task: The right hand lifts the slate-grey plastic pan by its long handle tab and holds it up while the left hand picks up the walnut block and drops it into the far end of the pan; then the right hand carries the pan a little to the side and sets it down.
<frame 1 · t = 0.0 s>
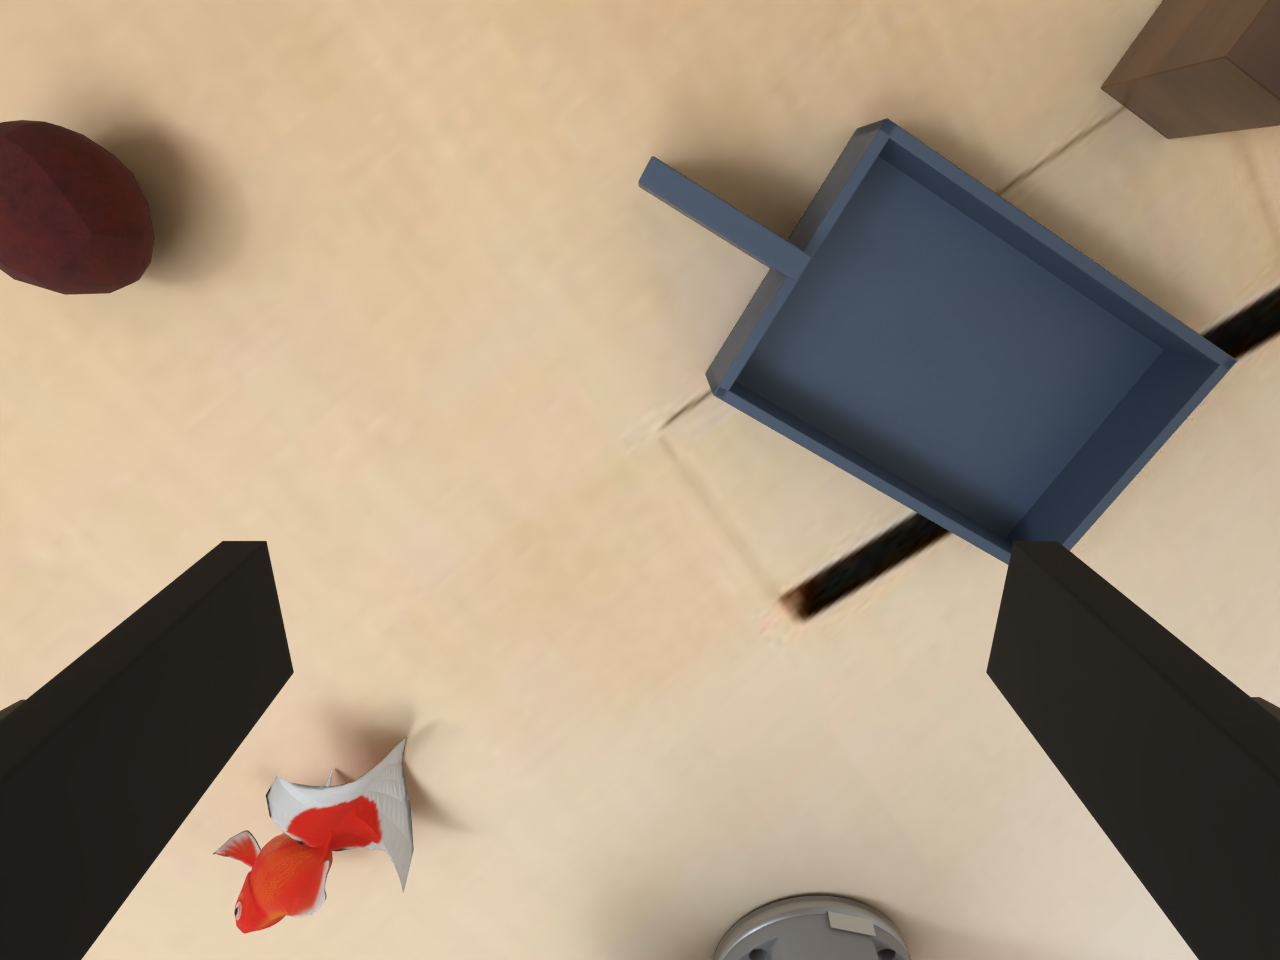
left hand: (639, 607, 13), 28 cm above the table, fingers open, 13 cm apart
block: (1167, 68, 34), on the table
fish: (344, 784, 50), on the table
dark maroon ball: (114, 213, 37), on the table
pan: (936, 359, 39), on the table
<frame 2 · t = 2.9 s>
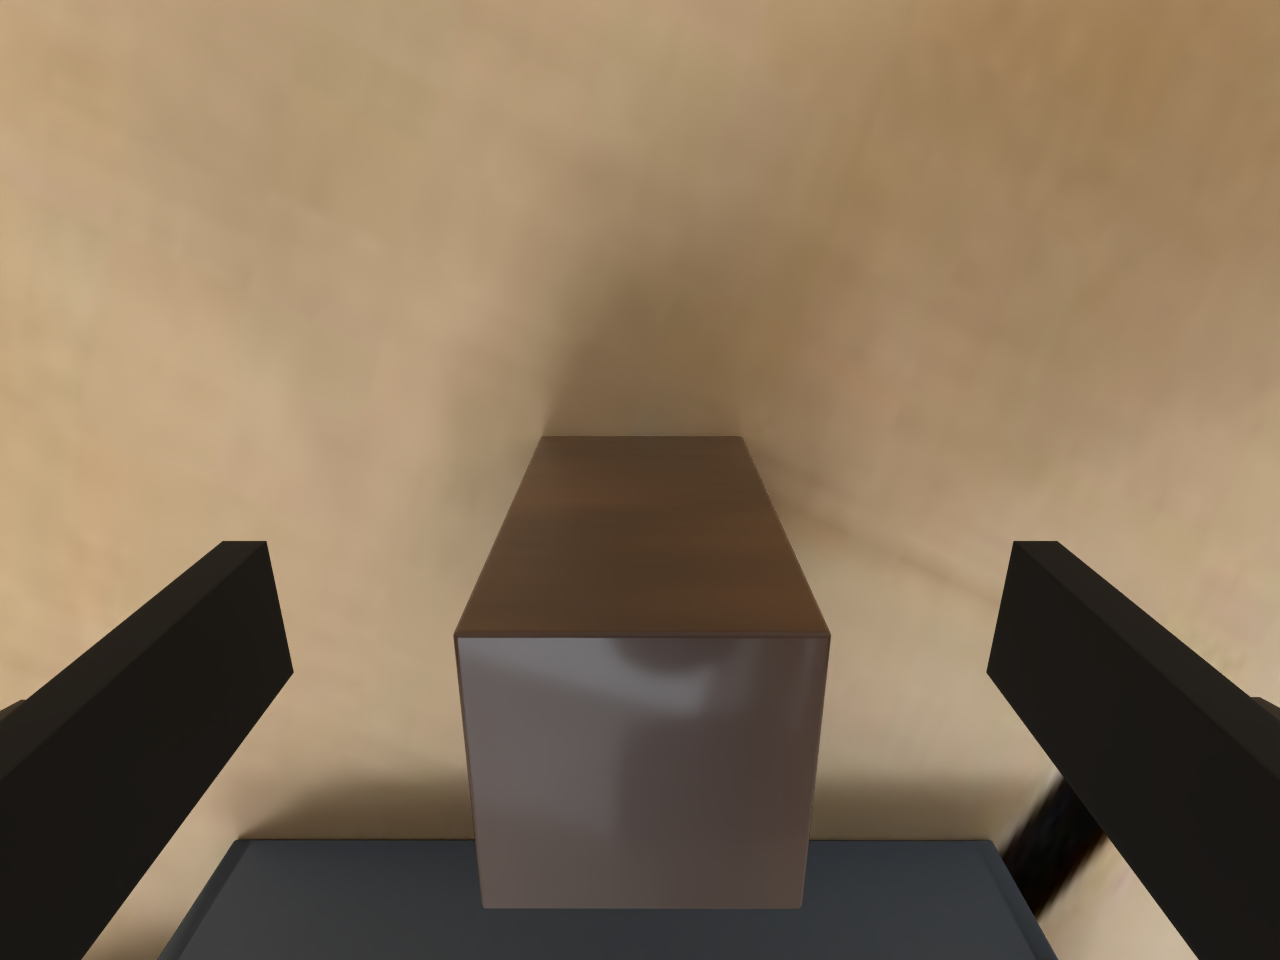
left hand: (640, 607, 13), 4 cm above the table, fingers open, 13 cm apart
block: (641, 528, 17), on the table
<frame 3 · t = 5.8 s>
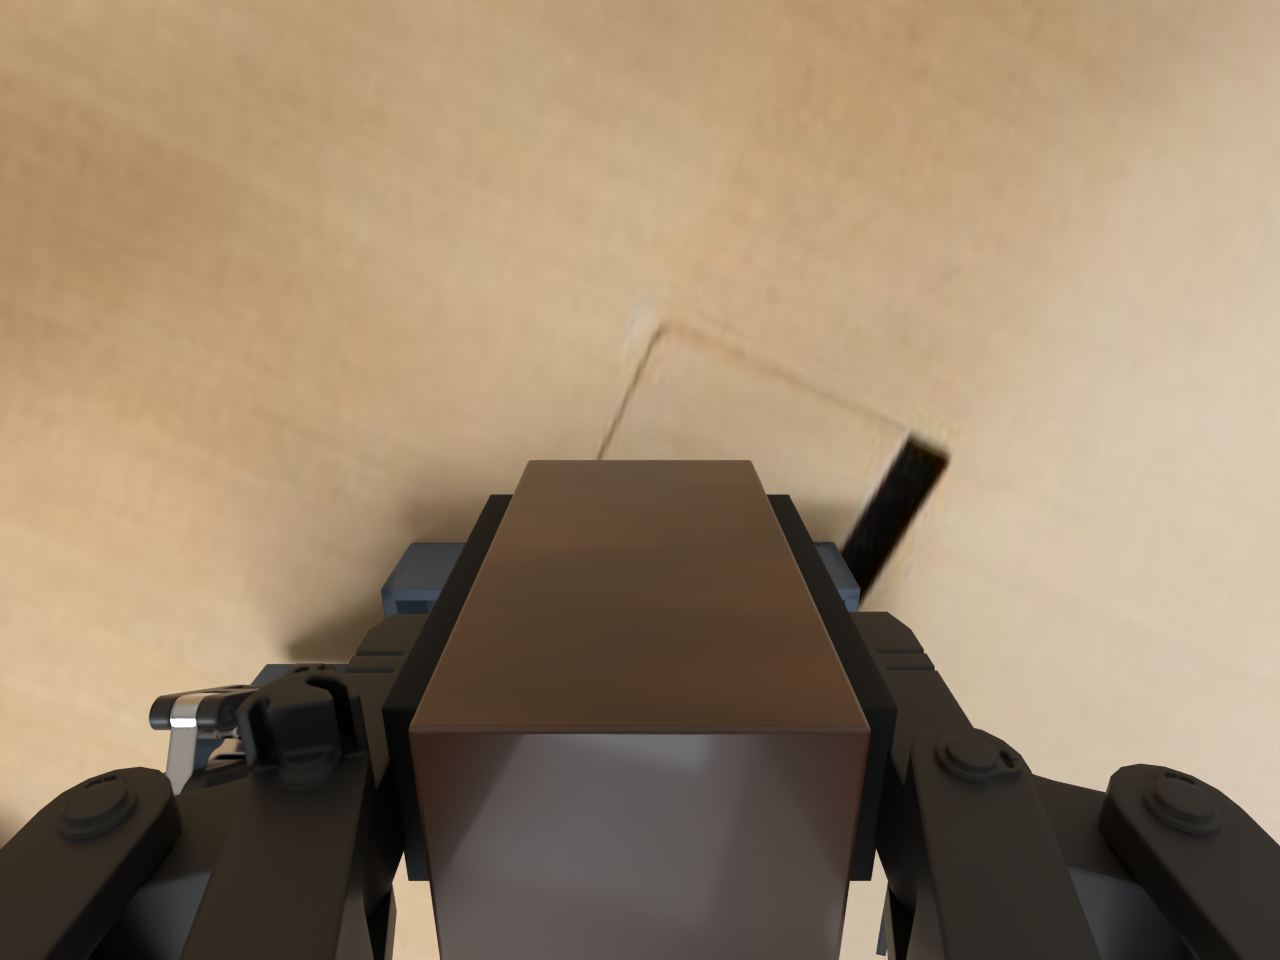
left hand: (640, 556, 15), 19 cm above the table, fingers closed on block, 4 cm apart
block: (639, 559, 15), point 19 cm above the table, touching left hand
pan: (623, 660, 39), on the table, touching right hand
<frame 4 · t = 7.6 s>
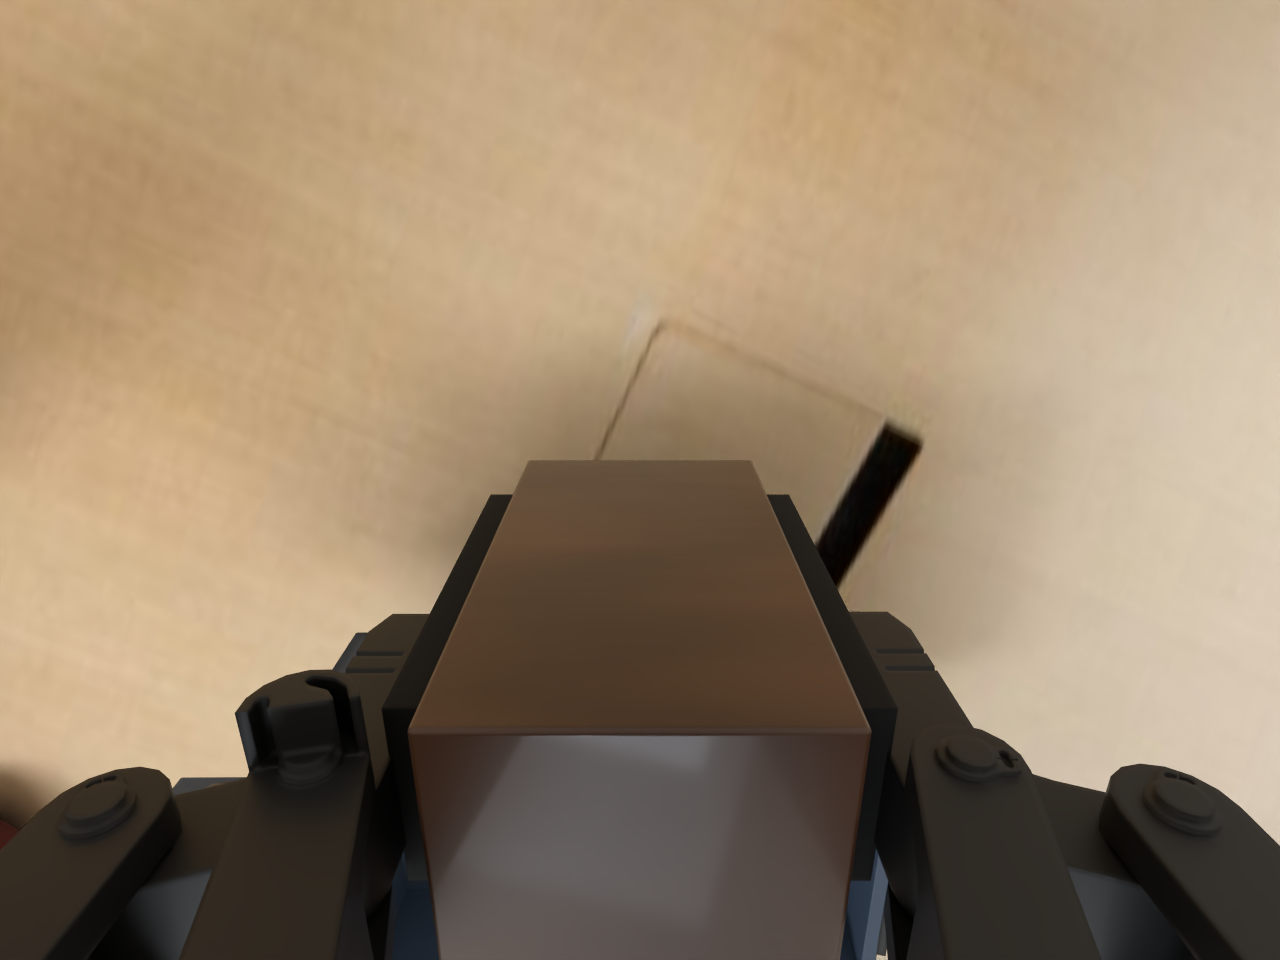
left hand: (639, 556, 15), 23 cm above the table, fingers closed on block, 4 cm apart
block: (639, 560, 15), point 22 cm above the table, touching left hand
dark maroon ball: (3, 828, 47), on the table
pan: (619, 768, 32), point 11 cm above the table, touching right hand
when the left hand's fingers open (21 cm above the table, at t = 9.8 s): block drops 9 cm, resting on pan.
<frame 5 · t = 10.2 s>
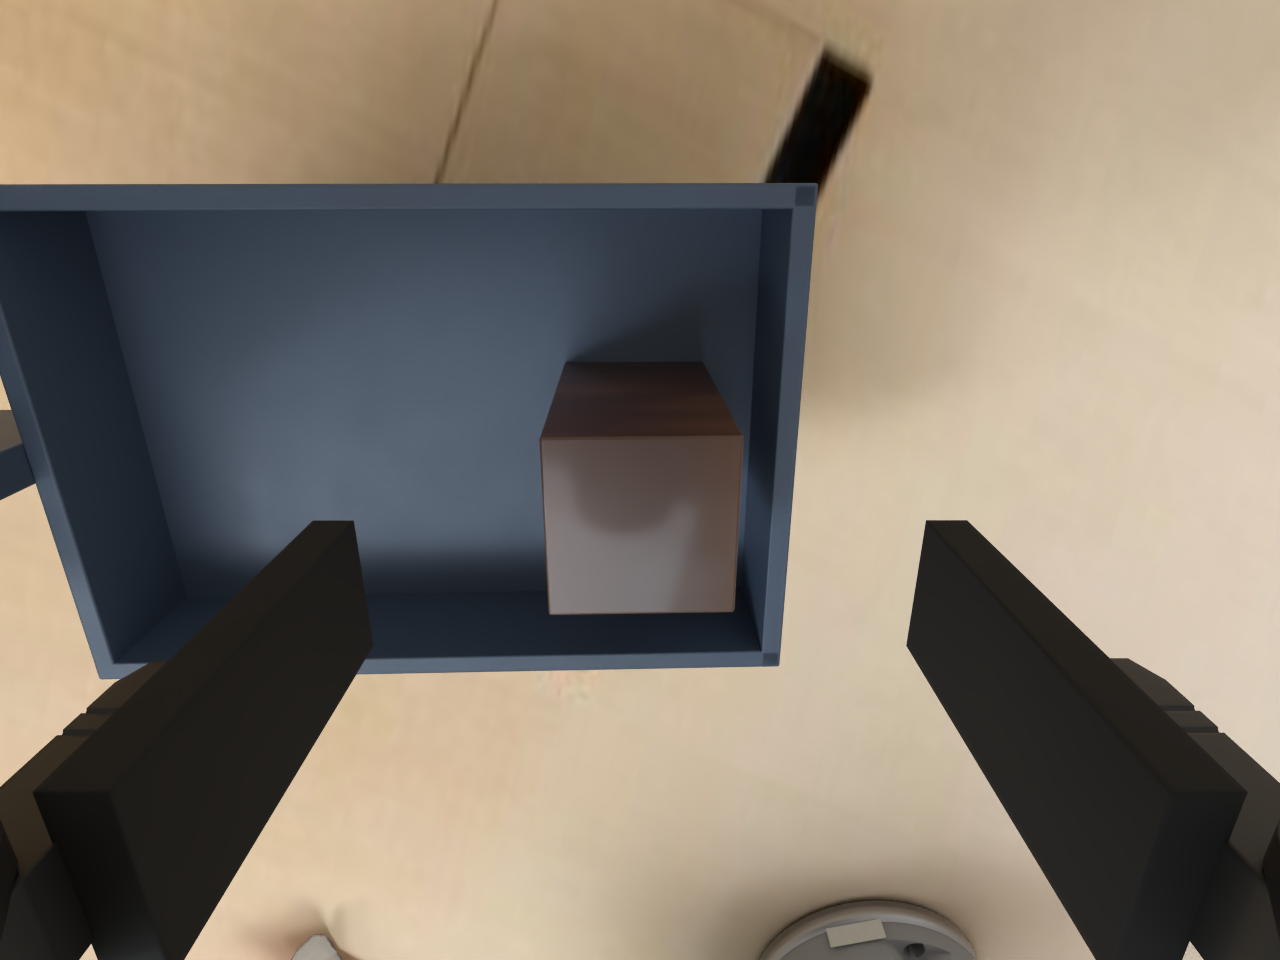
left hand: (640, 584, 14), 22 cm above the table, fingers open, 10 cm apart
block: (634, 428, 24), point 11 cm above the table, touching pan
pan: (453, 414, 24), point 10 cm above the table, touching block, right hand
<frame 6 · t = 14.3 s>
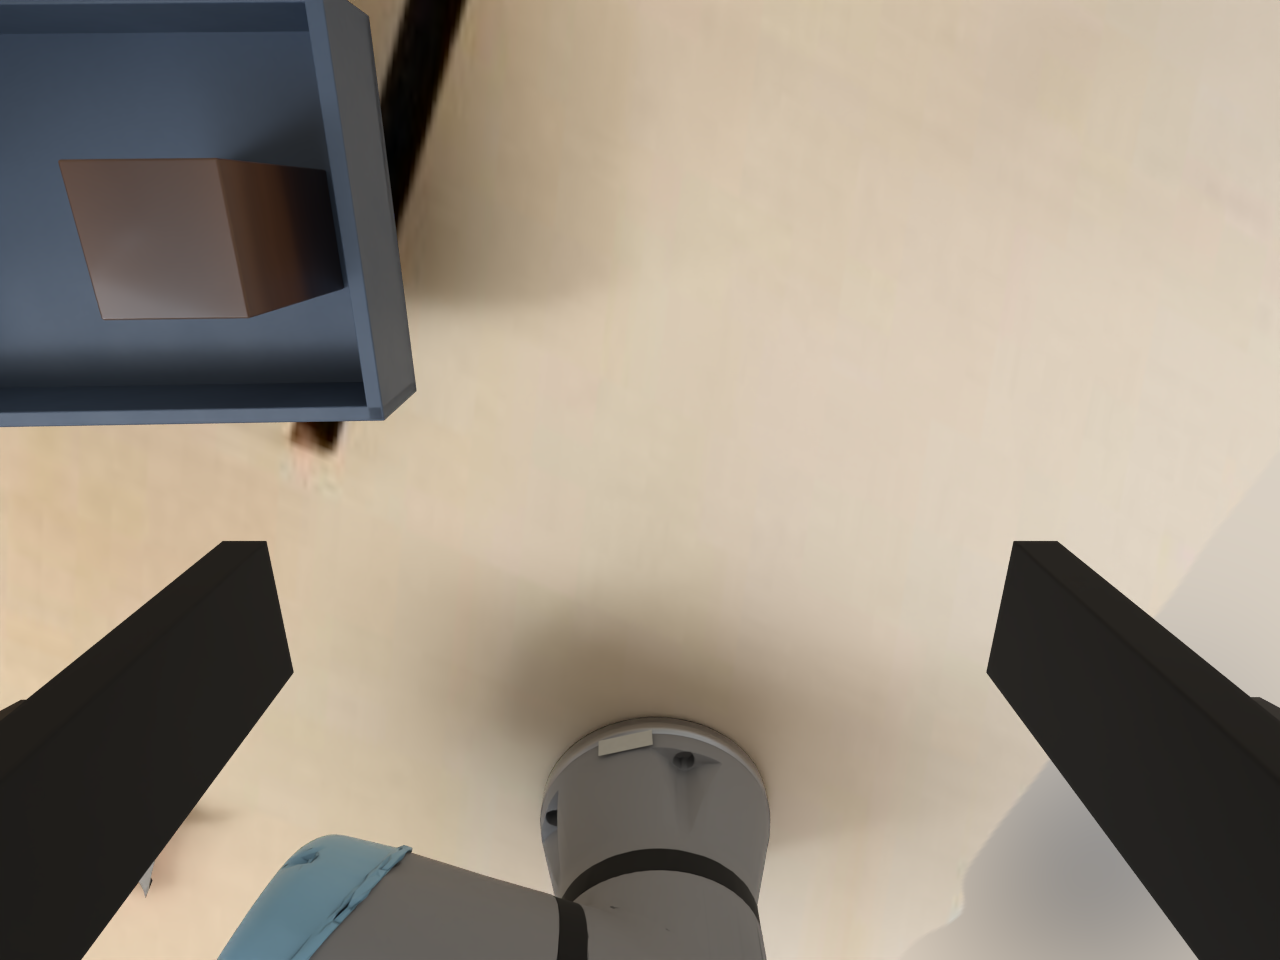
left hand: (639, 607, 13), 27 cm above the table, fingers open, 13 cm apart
block: (278, 231, 29), point 8 cm above the table, touching pan
pan: (130, 223, 29), point 7 cm above the table, touching block, right hand
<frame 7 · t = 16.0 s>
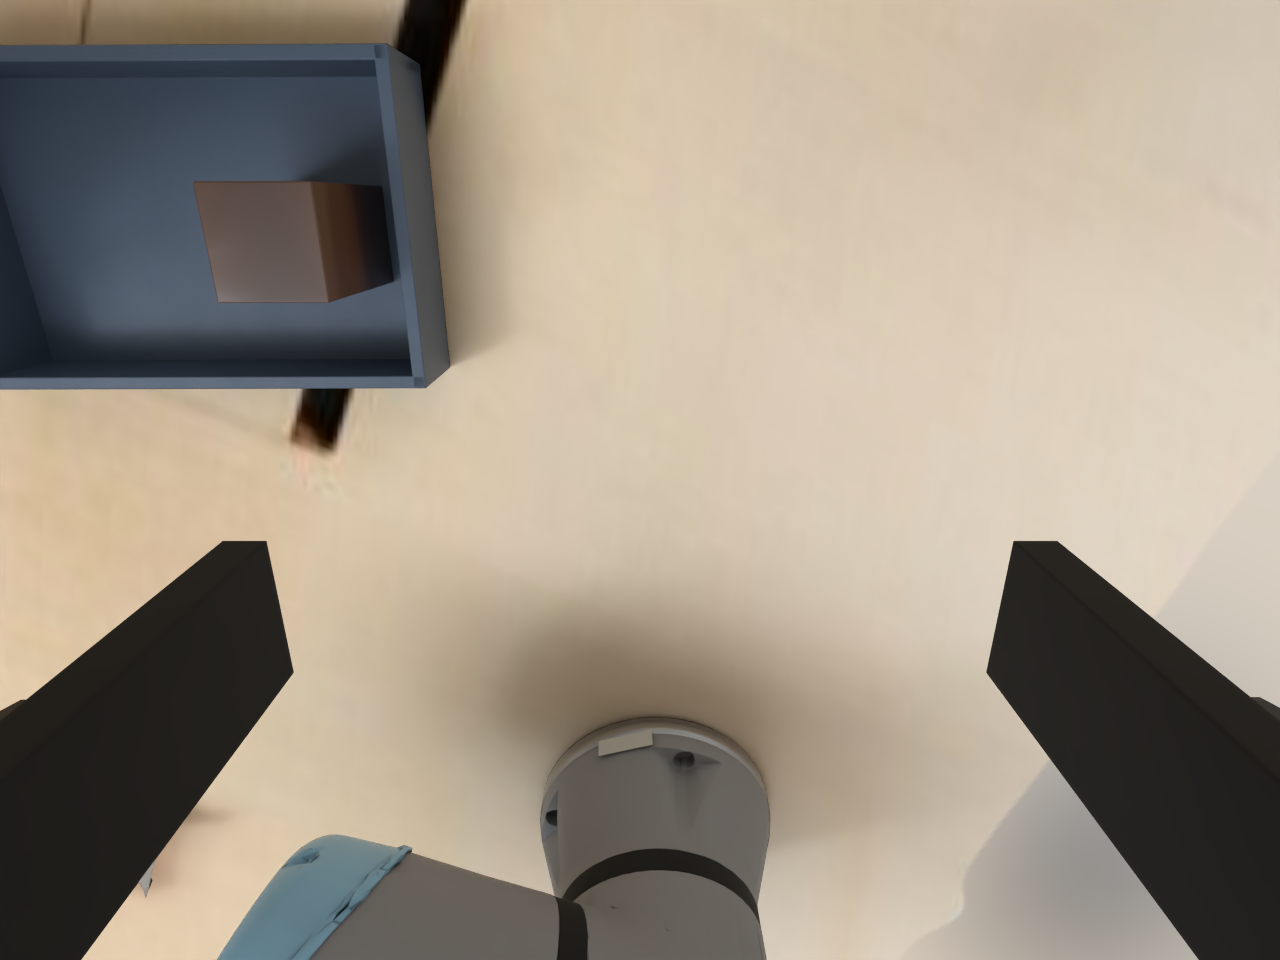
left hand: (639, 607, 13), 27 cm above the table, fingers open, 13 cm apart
block: (342, 235, 35), point 1 cm above the table, touching pan
pan: (223, 227, 36), on the table, touching block
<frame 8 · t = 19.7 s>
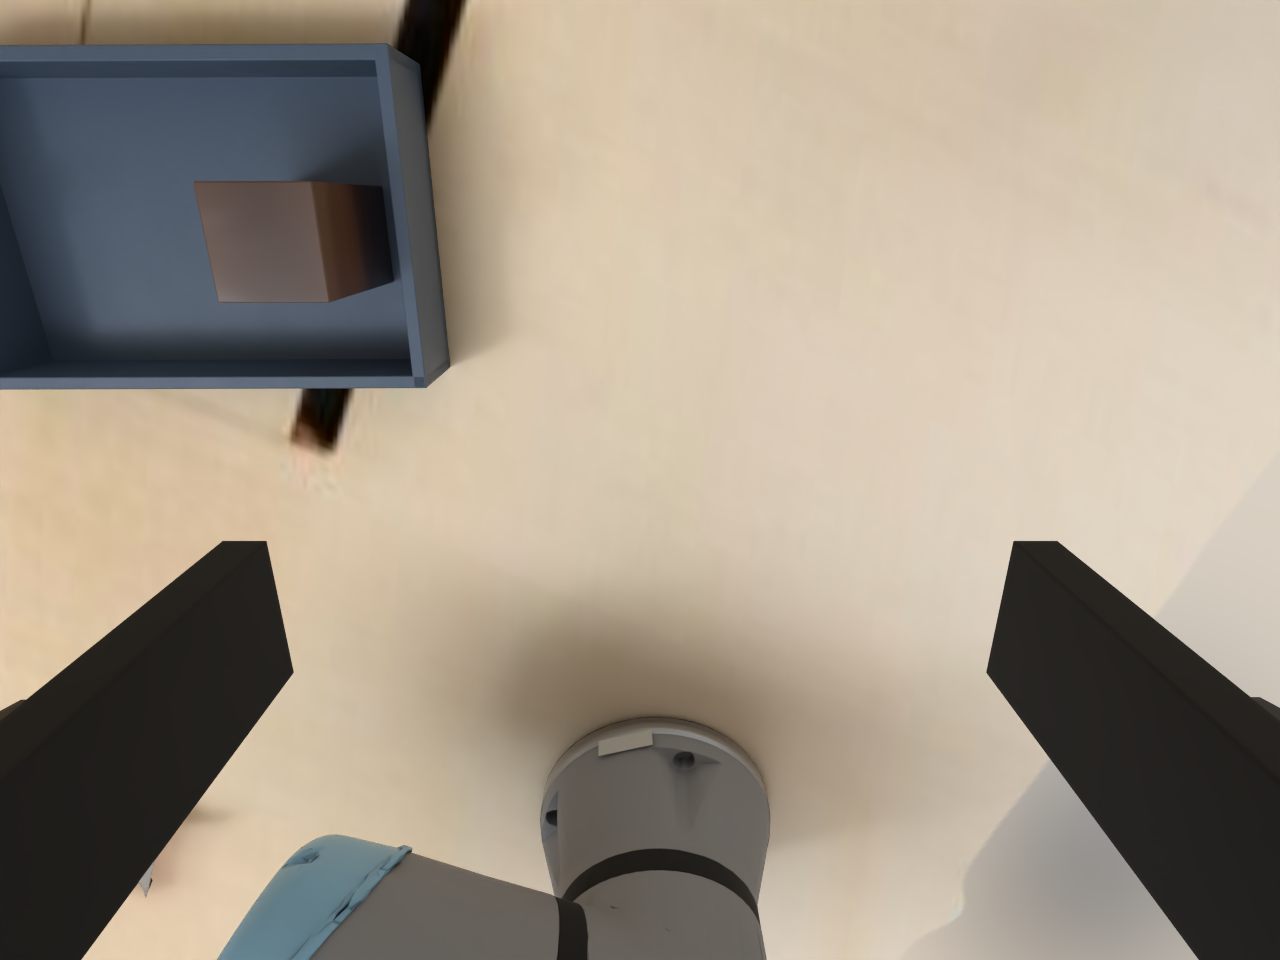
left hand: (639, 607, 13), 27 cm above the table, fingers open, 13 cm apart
block: (342, 235, 35), point 1 cm above the table, touching pan
pan: (223, 227, 36), on the table, touching block
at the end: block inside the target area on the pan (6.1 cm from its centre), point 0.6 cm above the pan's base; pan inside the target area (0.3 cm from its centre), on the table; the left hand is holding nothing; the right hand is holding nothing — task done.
